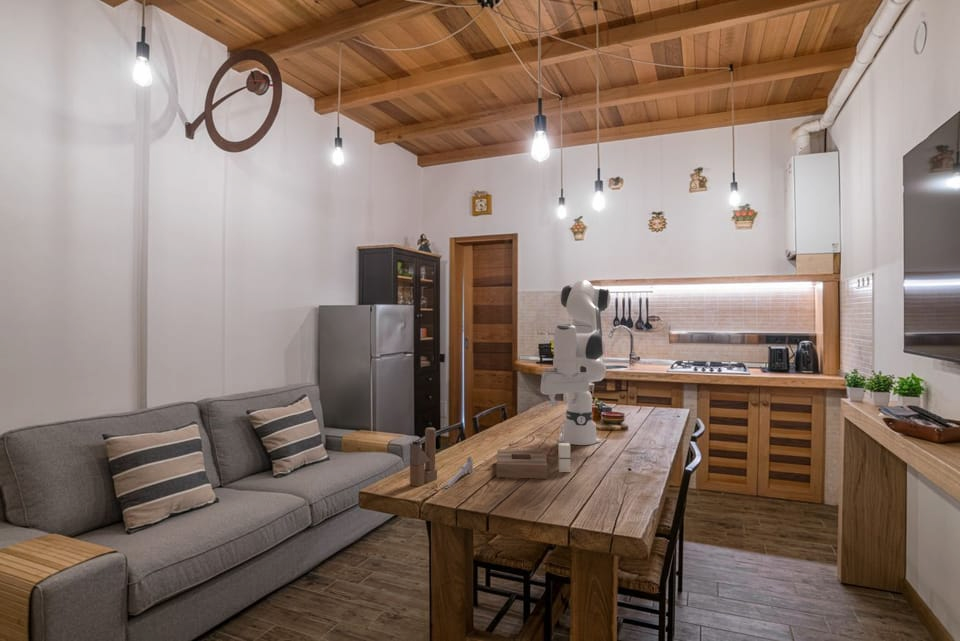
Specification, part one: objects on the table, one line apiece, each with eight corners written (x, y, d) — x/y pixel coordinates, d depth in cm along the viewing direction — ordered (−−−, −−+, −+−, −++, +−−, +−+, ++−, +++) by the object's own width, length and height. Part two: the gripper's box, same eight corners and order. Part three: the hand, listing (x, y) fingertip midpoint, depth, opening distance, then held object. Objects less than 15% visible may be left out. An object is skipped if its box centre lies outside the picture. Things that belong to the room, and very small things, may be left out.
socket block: (497, 461, 201) (497, 449, 201) (543, 462, 200) (543, 450, 200) (496, 478, 181) (496, 463, 181) (547, 479, 180) (547, 464, 180)
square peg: (558, 469, 192) (558, 442, 192) (568, 469, 192) (569, 442, 192) (559, 472, 188) (559, 445, 188) (570, 472, 188) (570, 445, 188)
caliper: (470, 472, 188) (470, 455, 188) (472, 472, 188) (472, 455, 188) (444, 489, 169) (444, 470, 169) (447, 490, 169) (447, 471, 169)
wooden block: (409, 485, 173) (409, 432, 173) (429, 477, 182) (429, 426, 182) (418, 487, 171) (418, 433, 171) (437, 478, 180) (437, 427, 180)
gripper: (547, 369, 182) (546, 408, 182) (591, 367, 191) (591, 404, 191) (537, 368, 187) (536, 405, 187) (581, 366, 197) (580, 402, 197)
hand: (564, 405), depth 190 cm, fingers open, 8 cm apart
